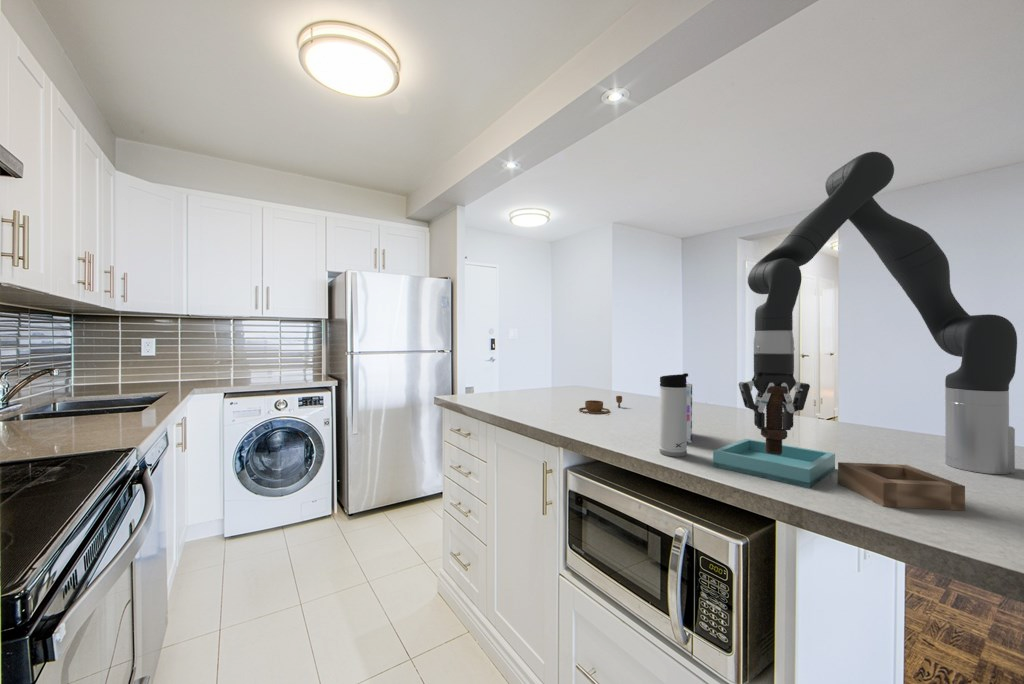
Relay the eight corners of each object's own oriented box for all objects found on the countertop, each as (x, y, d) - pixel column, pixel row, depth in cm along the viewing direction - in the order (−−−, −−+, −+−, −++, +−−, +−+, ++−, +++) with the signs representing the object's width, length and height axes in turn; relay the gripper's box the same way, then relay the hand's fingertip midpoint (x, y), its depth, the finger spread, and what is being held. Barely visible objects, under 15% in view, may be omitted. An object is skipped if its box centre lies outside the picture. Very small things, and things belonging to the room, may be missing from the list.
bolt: (780, 458, 87) (781, 387, 87) (755, 452, 92) (756, 384, 92) (792, 454, 91) (793, 385, 91) (767, 449, 95) (768, 383, 95)
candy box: (693, 444, 113) (693, 383, 113) (670, 443, 114) (670, 383, 114) (681, 433, 126) (681, 379, 126) (661, 432, 127) (661, 378, 127)
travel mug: (685, 458, 98) (685, 374, 98) (657, 454, 102) (657, 373, 102) (690, 452, 104) (690, 372, 104) (662, 449, 107) (662, 371, 107)
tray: (746, 452, 104) (746, 438, 104) (835, 469, 90) (835, 453, 90) (713, 466, 92) (713, 450, 92) (809, 488, 79) (809, 469, 79)
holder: (906, 485, 80) (906, 464, 80) (965, 510, 68) (965, 486, 68) (837, 482, 82) (838, 462, 82) (883, 506, 70) (883, 482, 70)
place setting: (573, 410, 172) (573, 396, 172) (620, 409, 174) (620, 395, 174) (585, 417, 154) (585, 402, 154) (637, 417, 156) (637, 401, 156)
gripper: (799, 351, 94) (799, 426, 94) (732, 351, 96) (732, 425, 96) (819, 352, 87) (819, 434, 87) (745, 352, 89) (745, 431, 89)
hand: (773, 428), depth 91 cm, fingers closed on bolt, 4 cm apart
